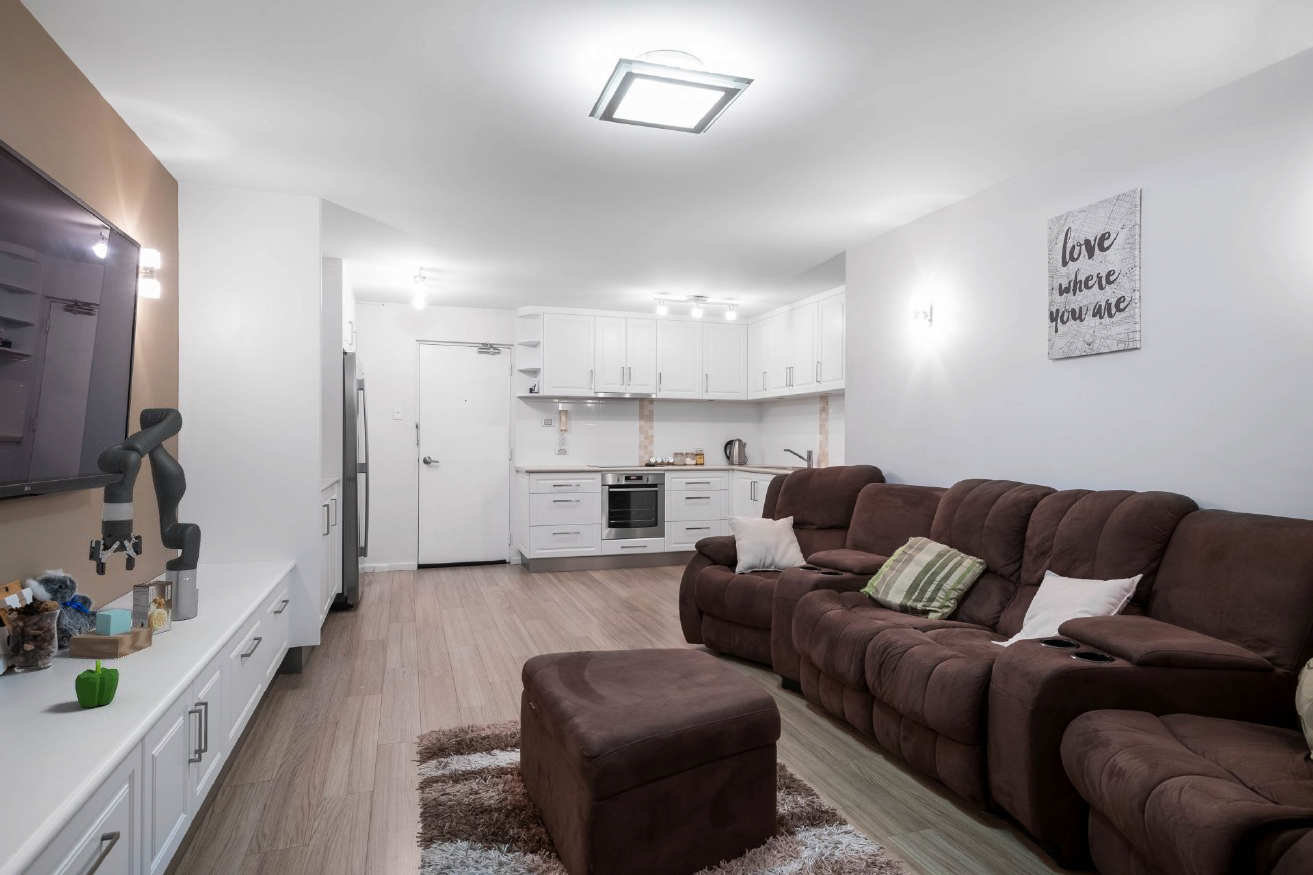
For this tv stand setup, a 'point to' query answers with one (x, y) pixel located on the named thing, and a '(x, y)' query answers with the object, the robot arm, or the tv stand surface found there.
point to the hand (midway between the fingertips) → (115, 572)
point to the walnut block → (110, 643)
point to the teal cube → (113, 622)
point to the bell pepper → (96, 686)
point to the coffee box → (153, 606)
